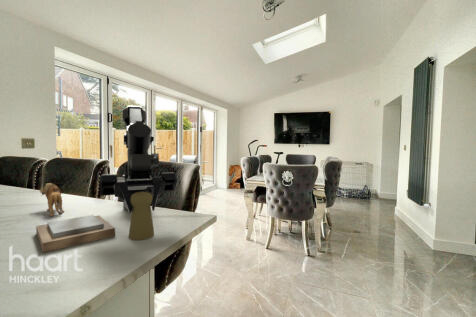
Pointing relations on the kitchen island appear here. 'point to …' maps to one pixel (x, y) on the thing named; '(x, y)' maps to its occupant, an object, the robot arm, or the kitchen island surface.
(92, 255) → the kitchen island surface
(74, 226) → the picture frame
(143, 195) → the cork
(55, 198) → the lion figurine
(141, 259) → the kitchen island surface
